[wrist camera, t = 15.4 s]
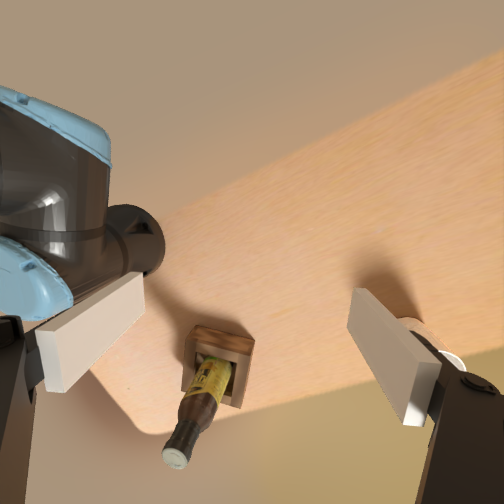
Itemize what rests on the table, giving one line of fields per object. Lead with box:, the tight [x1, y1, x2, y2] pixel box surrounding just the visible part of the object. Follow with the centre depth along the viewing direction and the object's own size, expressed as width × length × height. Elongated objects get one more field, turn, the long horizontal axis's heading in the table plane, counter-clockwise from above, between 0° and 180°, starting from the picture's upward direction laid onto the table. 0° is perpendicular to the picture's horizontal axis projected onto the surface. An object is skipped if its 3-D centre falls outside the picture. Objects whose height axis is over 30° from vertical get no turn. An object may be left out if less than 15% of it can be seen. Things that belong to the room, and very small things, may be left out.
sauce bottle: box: [162, 355, 234, 469], centre depth 43 cm, size 6×6×20 cm
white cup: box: [398, 317, 466, 371], centre depth 39 cm, size 8×8×10 cm
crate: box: [181, 325, 255, 409], centre depth 51 cm, size 13×13×5 cm
